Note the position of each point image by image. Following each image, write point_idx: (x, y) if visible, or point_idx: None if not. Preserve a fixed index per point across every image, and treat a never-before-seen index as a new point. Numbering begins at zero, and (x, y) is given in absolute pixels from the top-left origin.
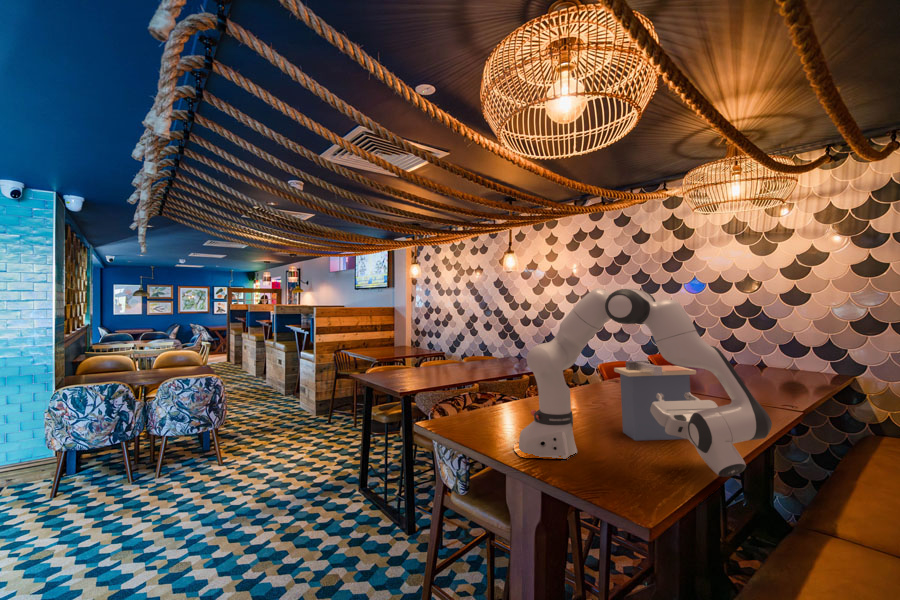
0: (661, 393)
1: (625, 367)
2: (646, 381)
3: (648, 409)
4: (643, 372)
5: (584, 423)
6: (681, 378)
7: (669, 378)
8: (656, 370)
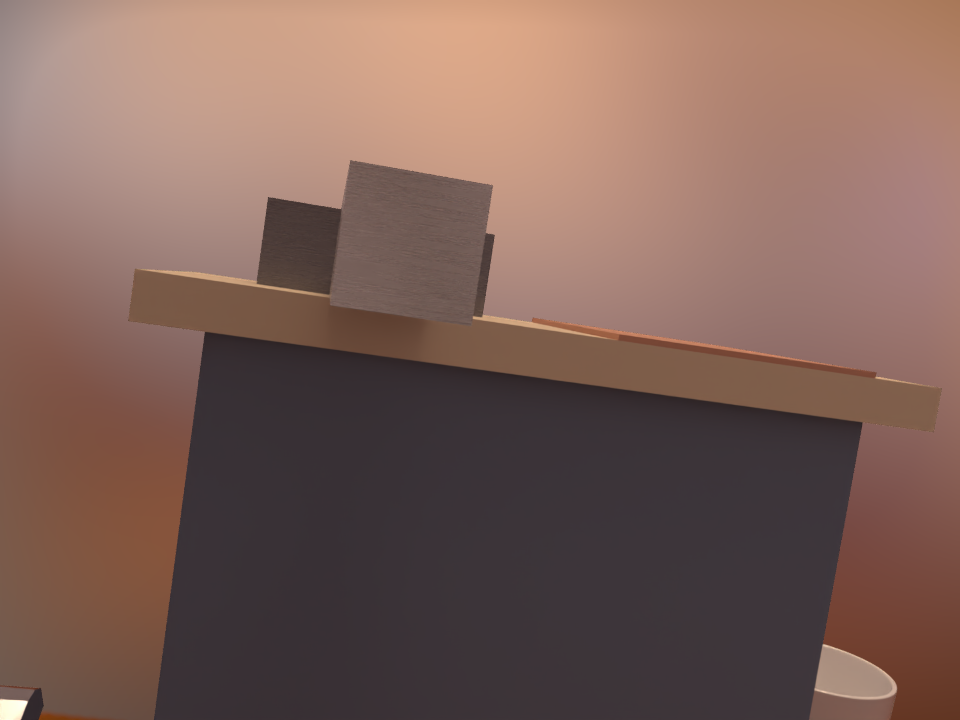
0: (7, 699)
1: None
2: (372, 426)
3: None
4: None
5: None
6: (771, 454)
7: (644, 434)
8: (388, 225)
